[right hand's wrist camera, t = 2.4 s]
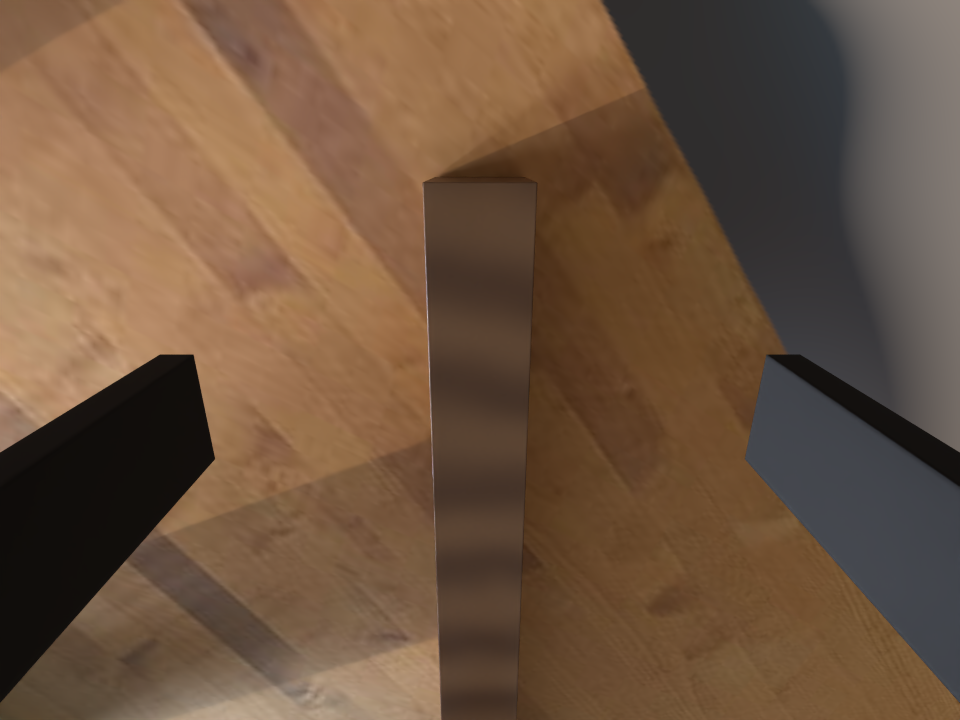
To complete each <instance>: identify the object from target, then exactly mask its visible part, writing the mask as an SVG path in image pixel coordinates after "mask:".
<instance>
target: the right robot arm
mask: <svg viewBox="0 0 960 720" xmlns="http://www.w3.org/2000/svg"><path fill="white" fill-rule="evenodd" d="M214 460H215V456H214V451H213V447H212V442H211V437H210V432H209V427H208V422H207V418H206V413H205V408H204V403H203V398H202V393H201V389H200V384H199V379H198V374H197V369H196V364H195V360H194V355H159V356H157V357H155V358H154V359H152V360H150V361H149V362H147V363H146V364H144V365H142V366H141V367H139V368H137V369H136V370H134V371H133V372H131V373H129V374H128V375H126V376H124V377H123V378H121V379H119V380H118V381H116V382H115V383H113V384H111V385H110V386H108V387H106V388H105V389H103V390H102V391H100V392H98V393H97V394H95V395H93V396H92V397H90V398H88V399H87V400H85V401H84V402H82V403H80V404H79V405H77V406H75V407H74V408H72V409H71V410H69V411H67V412H66V413H64V414H62V415H61V416H59V417H57V418H56V419H54V420H53V421H51V422H49V423H48V424H46V425H44V426H43V427H41V428H40V429H38V430H36V431H35V432H33V433H31V434H30V435H28V436H26V437H25V438H23V439H22V440H20V441H18V442H17V443H15V444H13V445H12V446H10V447H9V448H7V449H5V450H4V451H2V452H0V702H1V701H2V700H3V699H4V698H5V697H6V696H7V694H8V693H9V692H10V691H11V690H12V689H13V688H14V687H15V685H16V684H17V683H18V682H19V681H20V680H21V679H22V677H23V676H24V675H25V674H26V673H27V672H28V671H29V670H30V668H31V667H32V666H33V665H34V664H35V663H36V662H37V660H38V659H39V658H40V657H41V656H42V655H43V654H44V653H45V651H46V650H47V649H48V648H49V647H50V646H51V645H52V643H53V642H54V641H55V640H56V639H57V638H58V637H59V635H60V634H61V633H62V632H63V631H64V630H65V629H66V628H67V626H68V625H69V624H70V623H71V622H72V621H73V620H74V618H75V617H76V616H77V615H78V614H79V613H80V612H81V611H82V609H83V608H84V607H85V606H86V605H87V604H88V603H89V601H90V600H91V599H92V598H93V597H94V596H95V595H96V594H97V592H98V591H99V590H100V589H101V588H102V587H103V586H104V584H105V583H106V582H107V581H108V580H109V579H110V578H111V576H112V575H113V574H114V573H115V572H116V571H117V570H118V569H119V567H120V566H121V565H122V564H123V563H124V562H125V561H126V559H127V558H128V557H129V556H130V555H131V554H132V553H133V552H134V550H135V549H136V548H137V547H138V546H139V545H140V544H141V542H142V541H143V540H144V539H145V538H146V537H147V536H148V535H149V533H150V532H151V531H152V530H153V529H154V528H155V527H156V525H157V524H158V523H159V522H160V521H161V520H162V519H163V518H164V516H165V515H166V514H167V513H168V512H169V511H170V510H171V508H172V507H173V506H174V505H175V504H176V503H177V502H178V500H179V499H180V498H181V497H182V496H183V495H184V494H185V493H186V491H187V490H188V489H189V488H190V487H191V486H192V485H193V483H194V482H195V481H196V480H197V479H198V478H199V477H200V476H201V474H202V473H203V472H204V471H205V470H206V469H207V468H208V466H209V465H210V464H211V463H212V462H213V461H214ZM745 460H746V461H747V462H748V463H749V464H750V465H751V466H752V468H753V469H754V470H755V471H756V472H757V473H758V474H759V476H760V477H761V478H762V479H763V480H764V481H765V482H766V483H767V485H768V486H769V487H770V488H771V489H772V490H773V491H774V493H775V494H776V495H777V496H778V497H779V498H780V499H781V500H782V502H783V503H784V504H785V505H786V506H787V507H788V508H789V510H790V511H791V512H792V513H793V514H794V515H795V516H796V518H797V519H798V520H799V521H800V522H801V523H802V524H803V525H804V527H805V528H806V529H807V530H808V531H809V532H810V533H811V535H812V536H813V537H814V538H815V539H816V540H817V541H818V542H819V544H820V545H821V546H822V547H823V548H824V549H825V550H826V552H827V553H828V554H829V555H830V556H831V557H832V558H833V559H834V561H835V562H836V563H837V564H838V565H839V566H840V567H841V569H842V570H843V571H844V572H845V573H846V574H847V575H848V576H849V578H850V579H851V580H852V581H853V582H854V583H855V584H856V586H857V587H858V588H859V589H860V590H861V591H862V592H863V594H864V595H865V596H866V597H867V598H868V599H869V600H870V601H871V603H872V604H873V605H874V606H875V607H876V608H877V609H878V611H879V612H880V613H881V614H882V615H883V616H884V617H885V618H886V620H887V621H888V622H889V623H890V624H891V625H892V626H893V628H894V629H895V630H896V631H897V632H898V633H899V634H900V635H901V637H902V638H903V639H904V640H905V641H906V642H907V643H908V645H909V646H910V647H911V648H912V649H913V650H914V651H915V653H916V654H917V655H918V656H919V657H920V658H921V659H922V660H923V662H924V663H925V664H926V665H927V666H928V667H929V668H930V670H931V671H932V672H933V673H934V674H935V675H936V676H937V677H938V679H939V680H940V681H941V682H942V683H943V684H944V685H945V687H946V688H947V689H948V690H949V691H950V692H951V693H952V694H953V696H954V697H955V698H956V699H957V700H958V701H959V702H960V452H958V451H956V450H955V449H953V448H951V447H950V446H948V445H947V444H945V443H943V442H942V441H940V440H938V439H937V438H935V437H934V436H932V435H930V434H929V433H927V432H925V431H924V430H922V429H920V428H919V427H917V426H916V425H914V424H912V423H911V422H909V421H907V420H906V419H904V418H902V417H901V416H899V415H898V414H896V413H894V412H893V411H891V410H889V409H888V408H886V407H885V406H883V405H881V404H880V403H878V402H876V401H875V400H873V399H872V398H870V397H868V396H867V395H865V394H863V393H862V392H860V391H858V390H857V389H855V388H854V387H852V386H850V385H849V384H847V383H845V382H844V381H842V380H841V379H839V378H837V377H836V376H834V375H832V374H831V373H829V372H827V371H826V370H824V369H823V368H821V367H819V366H818V365H816V364H814V363H813V362H811V361H810V360H808V359H806V358H805V357H803V356H801V355H766V360H765V364H764V369H763V374H762V379H761V384H760V389H759V393H758V398H757V403H756V408H755V413H754V418H753V422H752V427H751V432H750V437H749V442H748V447H747V451H746V456H745Z"/></svg>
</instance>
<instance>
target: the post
mask: <svg viewBox="0 0 960 720" xmlns="http://www.w3.org/2000/svg"><path fill="white" fill-rule="evenodd" d="M536 202H537V183H536V182H534V181H532V180H529V179H527V178H525V177H434V178H432V179H430V180H427V181H425V182H423V209H424V238H425V267H426V295H427V324H428V353H429V382H430V411H431V439H432V468H433V497H434V526H435V555H436V583H437V612H438V641H439V670H440V699H441V720H516V714H517V689H518V663H519V637H520V612H521V586H522V561H523V535H524V509H525V484H526V458H527V433H528V407H529V382H530V356H531V330H532V305H533V279H534V254H535V228H536Z"/></svg>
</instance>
